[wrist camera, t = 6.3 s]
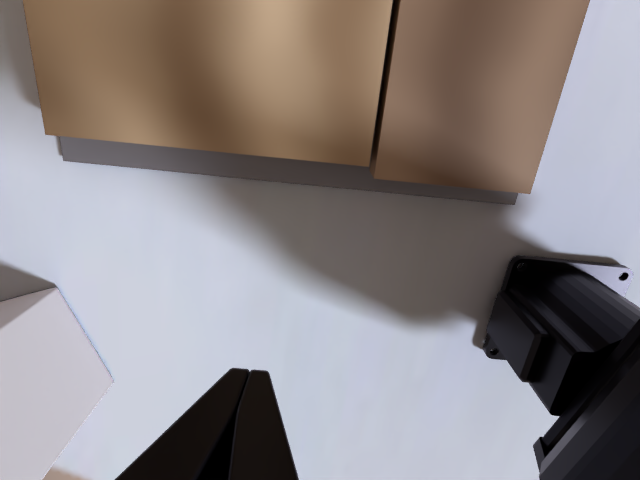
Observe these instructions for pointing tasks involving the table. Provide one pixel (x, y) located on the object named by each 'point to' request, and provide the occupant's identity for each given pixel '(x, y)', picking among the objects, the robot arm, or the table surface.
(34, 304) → the milk carton
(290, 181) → the underlay mat
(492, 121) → the walnut plank
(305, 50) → the oak plank
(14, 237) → the table surface
